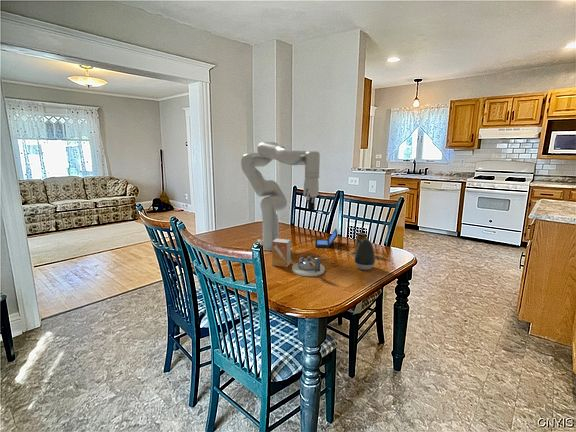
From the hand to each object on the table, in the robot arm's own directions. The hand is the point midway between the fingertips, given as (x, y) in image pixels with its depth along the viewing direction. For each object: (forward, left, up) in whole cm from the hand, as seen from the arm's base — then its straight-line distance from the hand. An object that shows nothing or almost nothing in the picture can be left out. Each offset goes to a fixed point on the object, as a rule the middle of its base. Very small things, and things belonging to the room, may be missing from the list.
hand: (311, 209), depth 169 cm
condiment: (+24, +18, -27) cm, 41 cm away
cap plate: (+5, -18, -27) cm, 33 cm away
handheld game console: (+1, +29, -28) cm, 40 cm away
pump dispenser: (+30, -4, -27) cm, 41 cm away
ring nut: (+7, -20, -25) cm, 33 cm away
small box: (-10, -16, -27) cm, 33 cm away
